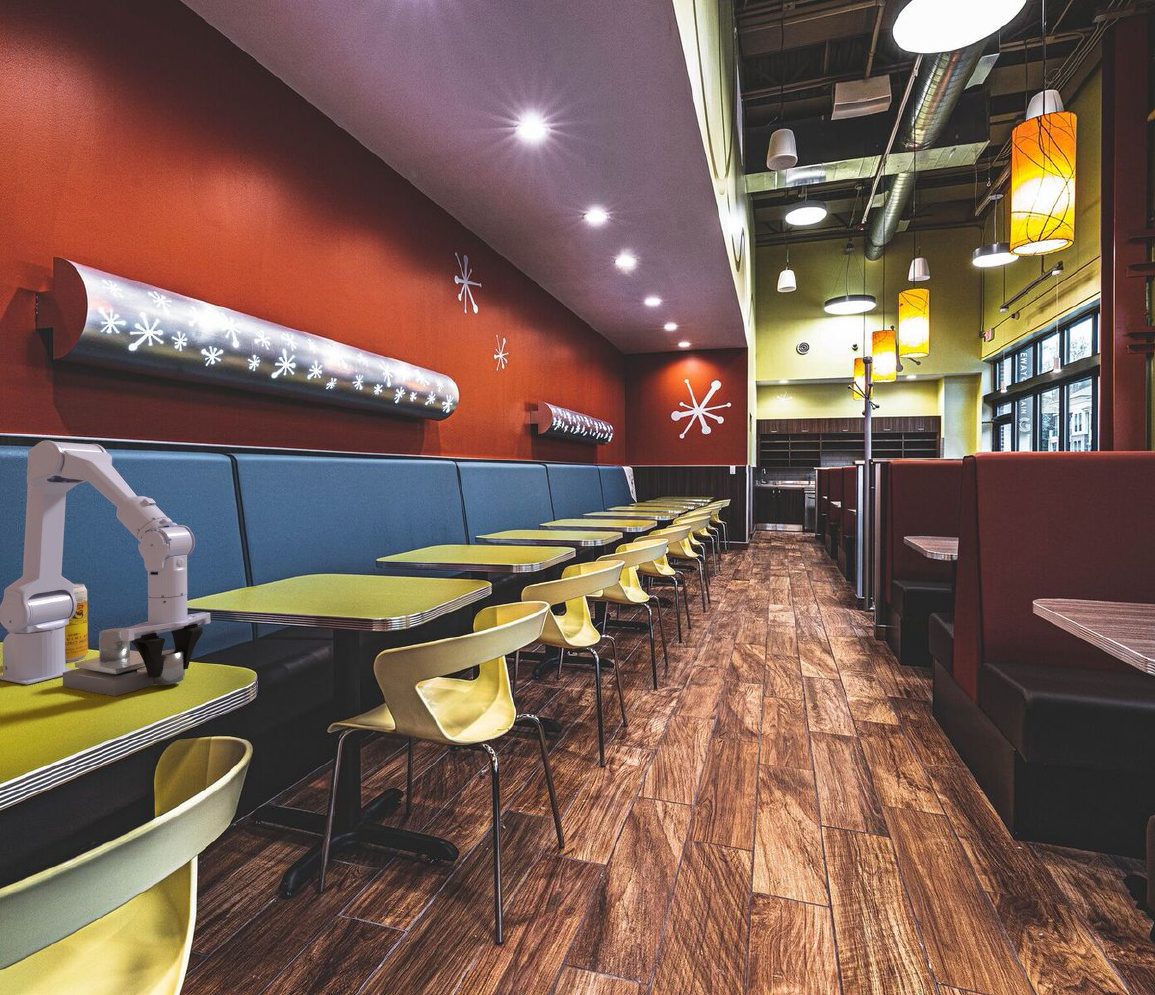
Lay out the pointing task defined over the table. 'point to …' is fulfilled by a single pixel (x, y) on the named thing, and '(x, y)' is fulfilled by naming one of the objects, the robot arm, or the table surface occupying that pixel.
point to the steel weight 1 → (113, 645)
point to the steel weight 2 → (171, 667)
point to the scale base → (107, 681)
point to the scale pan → (113, 664)
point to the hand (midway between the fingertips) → (168, 672)
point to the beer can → (77, 628)
